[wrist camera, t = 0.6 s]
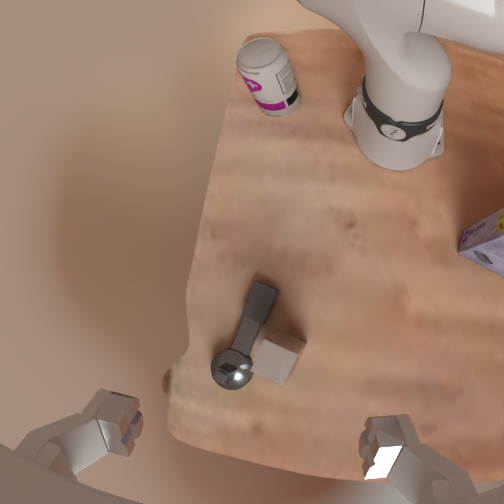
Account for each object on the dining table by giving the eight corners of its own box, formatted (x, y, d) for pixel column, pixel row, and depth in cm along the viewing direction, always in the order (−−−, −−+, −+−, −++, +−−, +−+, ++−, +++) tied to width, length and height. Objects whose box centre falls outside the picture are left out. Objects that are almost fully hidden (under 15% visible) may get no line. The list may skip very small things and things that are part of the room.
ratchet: (244, 393, 52) (231, 405, 46) (209, 375, 54) (193, 384, 48) (288, 294, 52) (280, 294, 46) (250, 277, 54) (237, 276, 48)
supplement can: (271, 126, 56) (247, 80, 42) (252, 97, 58) (225, 51, 44) (309, 105, 55) (295, 55, 40) (287, 78, 56) (268, 27, 42)
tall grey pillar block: (279, 330, 52) (264, 339, 42) (307, 342, 50) (297, 354, 41) (267, 356, 52) (250, 370, 42) (294, 369, 50) (282, 386, 41)
